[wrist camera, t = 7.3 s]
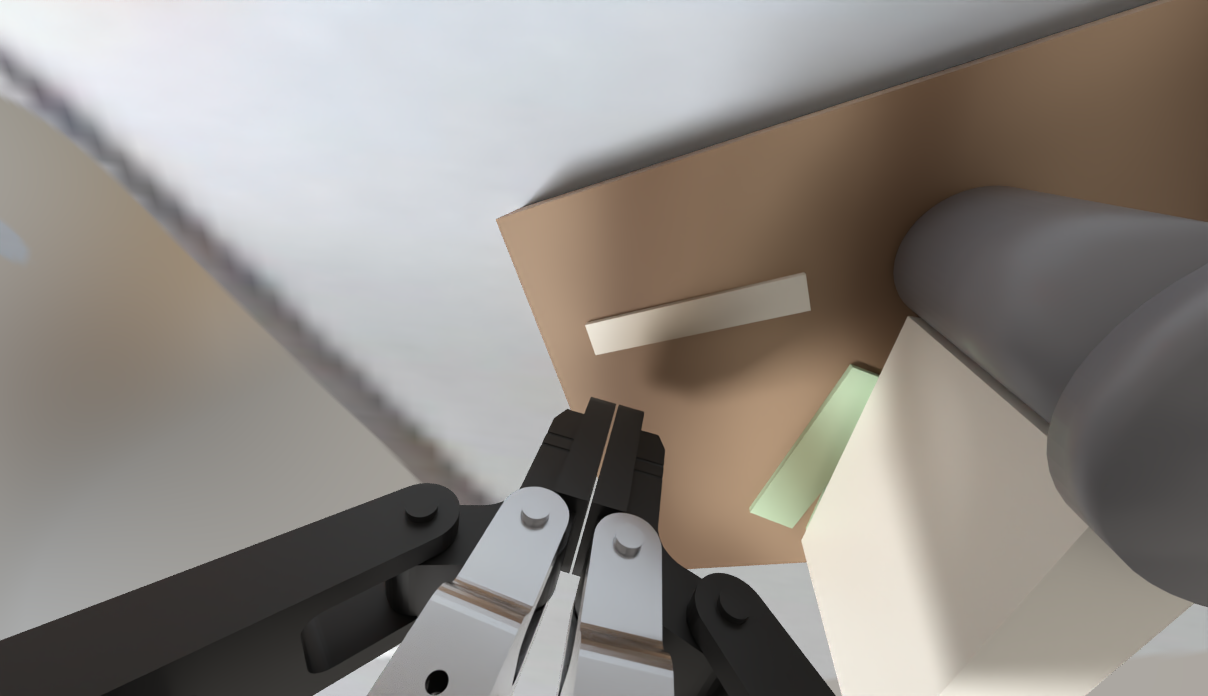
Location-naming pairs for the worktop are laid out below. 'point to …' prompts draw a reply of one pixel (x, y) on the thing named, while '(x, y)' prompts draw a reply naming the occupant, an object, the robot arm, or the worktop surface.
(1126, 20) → the board
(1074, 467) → the knob
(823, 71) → the worktop surface
